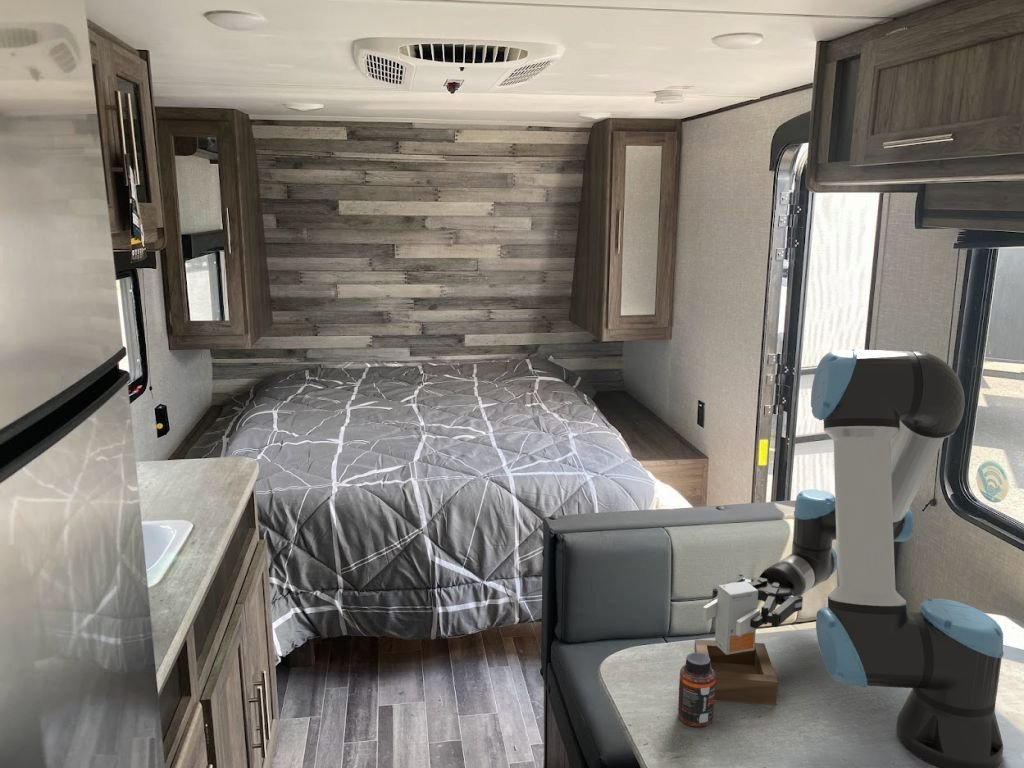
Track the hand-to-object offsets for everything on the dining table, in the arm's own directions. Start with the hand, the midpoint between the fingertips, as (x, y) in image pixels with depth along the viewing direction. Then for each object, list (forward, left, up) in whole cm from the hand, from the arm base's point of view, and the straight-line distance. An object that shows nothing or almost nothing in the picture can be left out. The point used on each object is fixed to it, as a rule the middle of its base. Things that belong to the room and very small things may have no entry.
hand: (721, 621), depth 140 cm
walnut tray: (+4, -3, -14) cm, 15 cm away
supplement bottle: (-8, +5, -14) cm, 17 cm away
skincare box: (+4, -3, -7) cm, 9 cm away
